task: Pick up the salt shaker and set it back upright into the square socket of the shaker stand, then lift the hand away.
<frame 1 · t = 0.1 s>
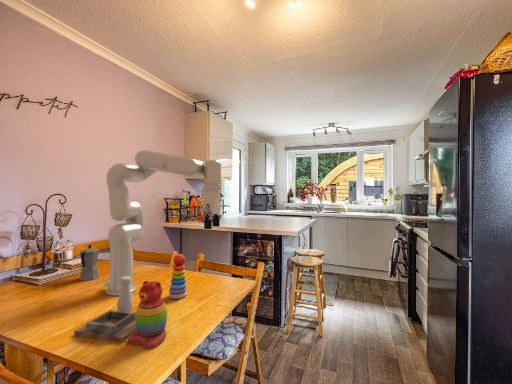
hand: (212, 227, 117), 31 cm above the table, tool pointing down, fingers open, 9 cm apart
shaker stand: (112, 329, 90), on the table
salt shaker: (125, 310, 105), on the table
coffeepot: (88, 279, 143), on the table
stacking bear: (150, 338, 84), on the table
stacking toy: (178, 296, 120), on the table
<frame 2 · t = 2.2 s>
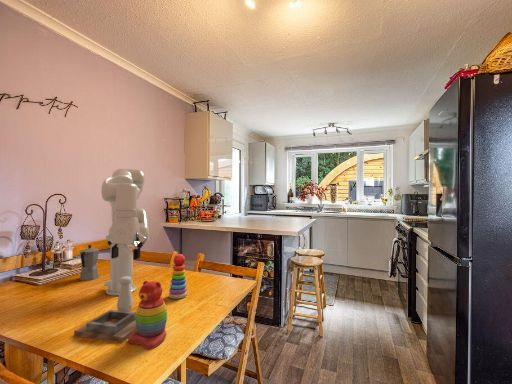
hand: (125, 258, 105), 20 cm above the table, tool pointing down, fingers open, 9 cm apart
nothing on the table moved.
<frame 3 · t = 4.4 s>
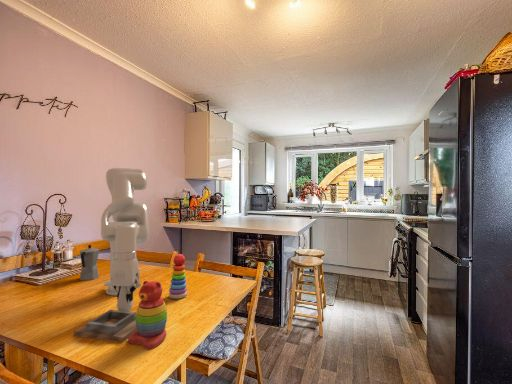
hand: (125, 302, 105), 3 cm above the table, tool pointing down, fingers closed on salt shaker, 3 cm apart
salt shaker: (124, 310, 105), on the table, touching gripper
everything else where it was.
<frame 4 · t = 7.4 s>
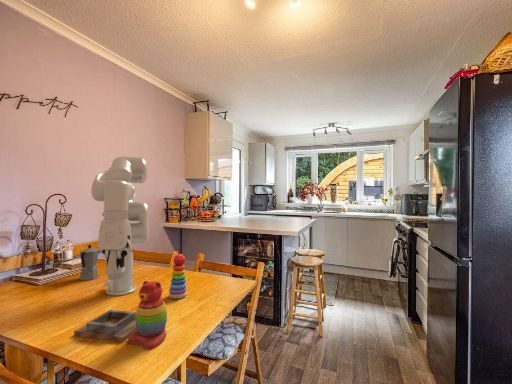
hand: (115, 268, 92), 20 cm above the table, tool pointing down, fingers closed on salt shaker, 3 cm apart
salt shaker: (115, 278, 92), point 16 cm above the table, touching gripper
everything else where it was.
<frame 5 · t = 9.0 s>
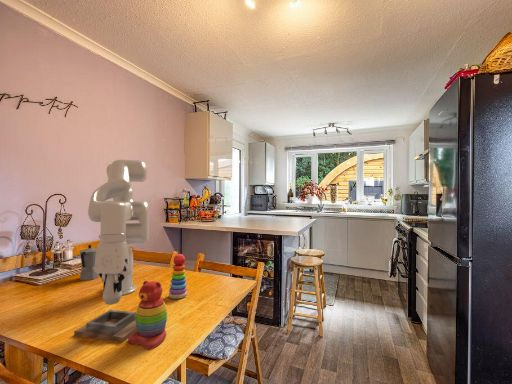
hand: (112, 292, 90), 12 cm above the table, tool pointing down, fingers closed on salt shaker, 3 cm apart
salt shaker: (112, 302, 90), point 9 cm above the table, touching gripper
everything else where it was.
when the fingers open (6 cm above the table, at t = 10.4 s): salt shaker drops 1 cm, resting on shaker stand.
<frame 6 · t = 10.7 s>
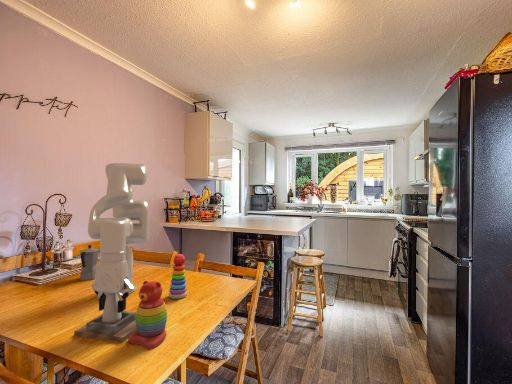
hand: (112, 309, 90), 7 cm above the table, tool pointing down, fingers open, 6 cm apart
salt shaker: (112, 325, 90), point 1 cm above the table, touching shaker stand
everything else where it was.
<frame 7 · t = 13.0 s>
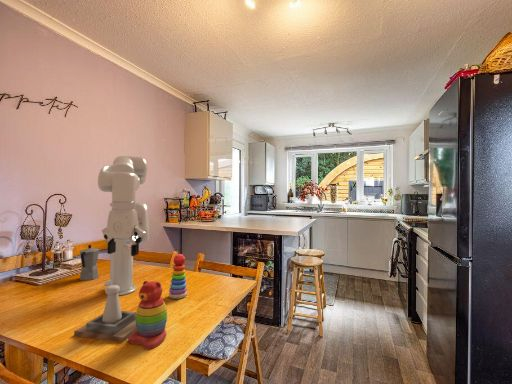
hand: (123, 254, 96), 24 cm above the table, tool pointing down, fingers open, 9 cm apart
nothing on the table moved.
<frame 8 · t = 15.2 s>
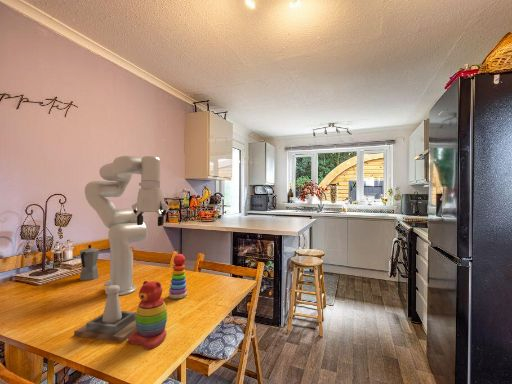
hand: (150, 225, 114), 32 cm above the table, tool pointing down, fingers open, 9 cm apart
nothing on the table moved.
at the end: salt shaker 0.2 cm off-centre on the shaker stand, point 1.3 cm above the shaker stand's base; salt shaker tilted 0°; the gripper is holding nothing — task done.
